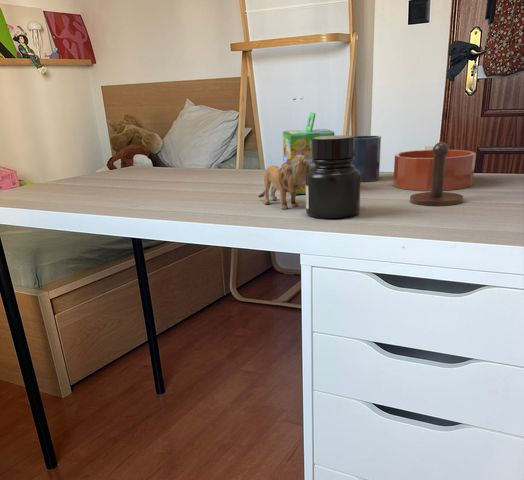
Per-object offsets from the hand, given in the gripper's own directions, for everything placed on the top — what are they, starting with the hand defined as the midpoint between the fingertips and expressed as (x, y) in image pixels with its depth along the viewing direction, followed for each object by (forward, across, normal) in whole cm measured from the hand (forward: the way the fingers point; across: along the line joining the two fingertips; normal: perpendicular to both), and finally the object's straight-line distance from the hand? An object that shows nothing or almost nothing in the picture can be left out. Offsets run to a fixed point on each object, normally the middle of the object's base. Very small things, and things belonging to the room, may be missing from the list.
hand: (518, 21), depth 97 cm
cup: (+28, -28, +4) cm, 40 cm away
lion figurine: (+28, -40, -25) cm, 55 cm away
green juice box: (+28, -38, -10) cm, 49 cm away
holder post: (+28, -13, -22) cm, 38 cm away
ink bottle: (+28, -30, -33) cm, 53 cm away
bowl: (+28, -13, 0) cm, 31 cm away
